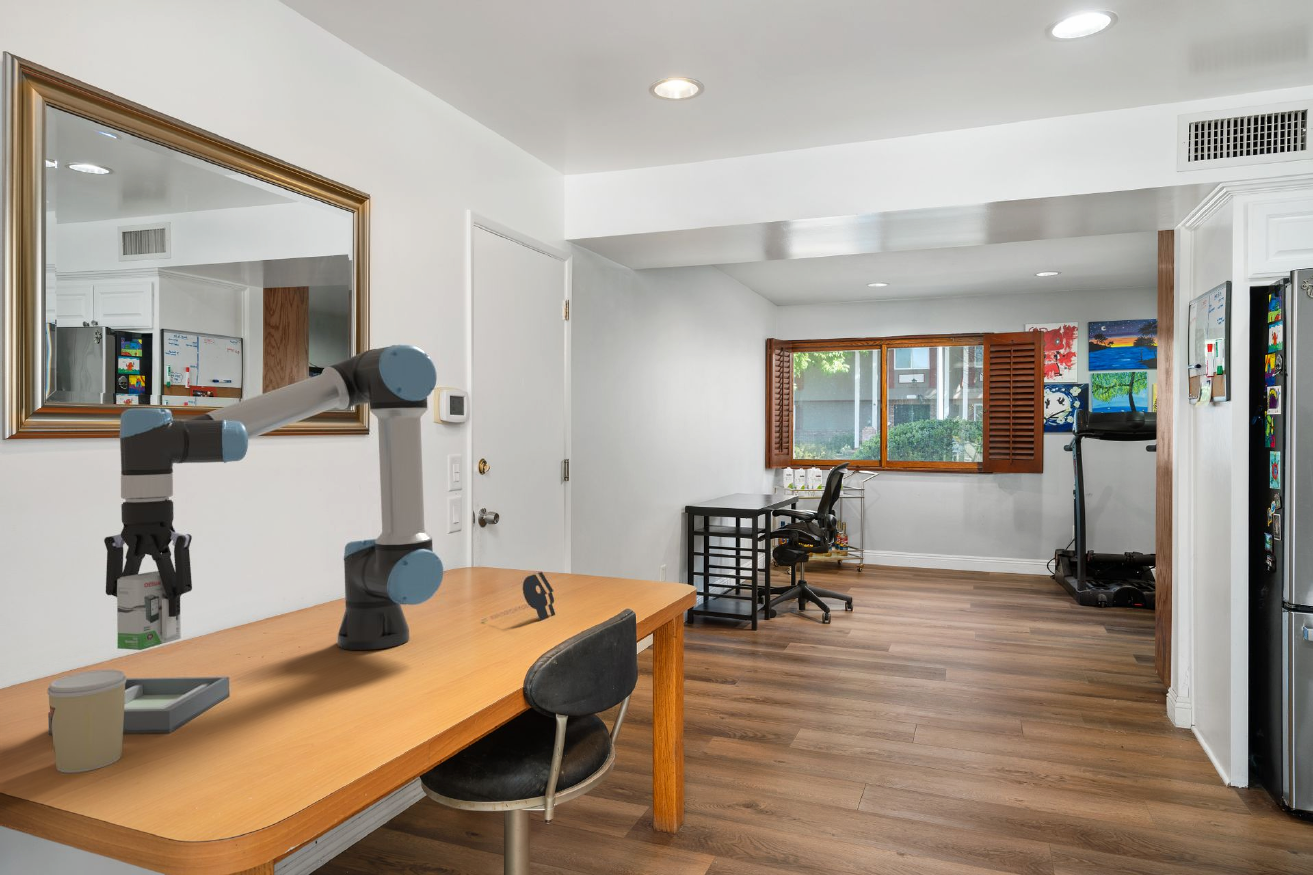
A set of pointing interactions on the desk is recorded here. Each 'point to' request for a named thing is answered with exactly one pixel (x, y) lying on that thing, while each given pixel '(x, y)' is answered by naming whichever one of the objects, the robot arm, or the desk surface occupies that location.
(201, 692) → the walled tray
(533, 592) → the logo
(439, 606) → the desk surface
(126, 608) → the ink box
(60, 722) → the coffee cup
